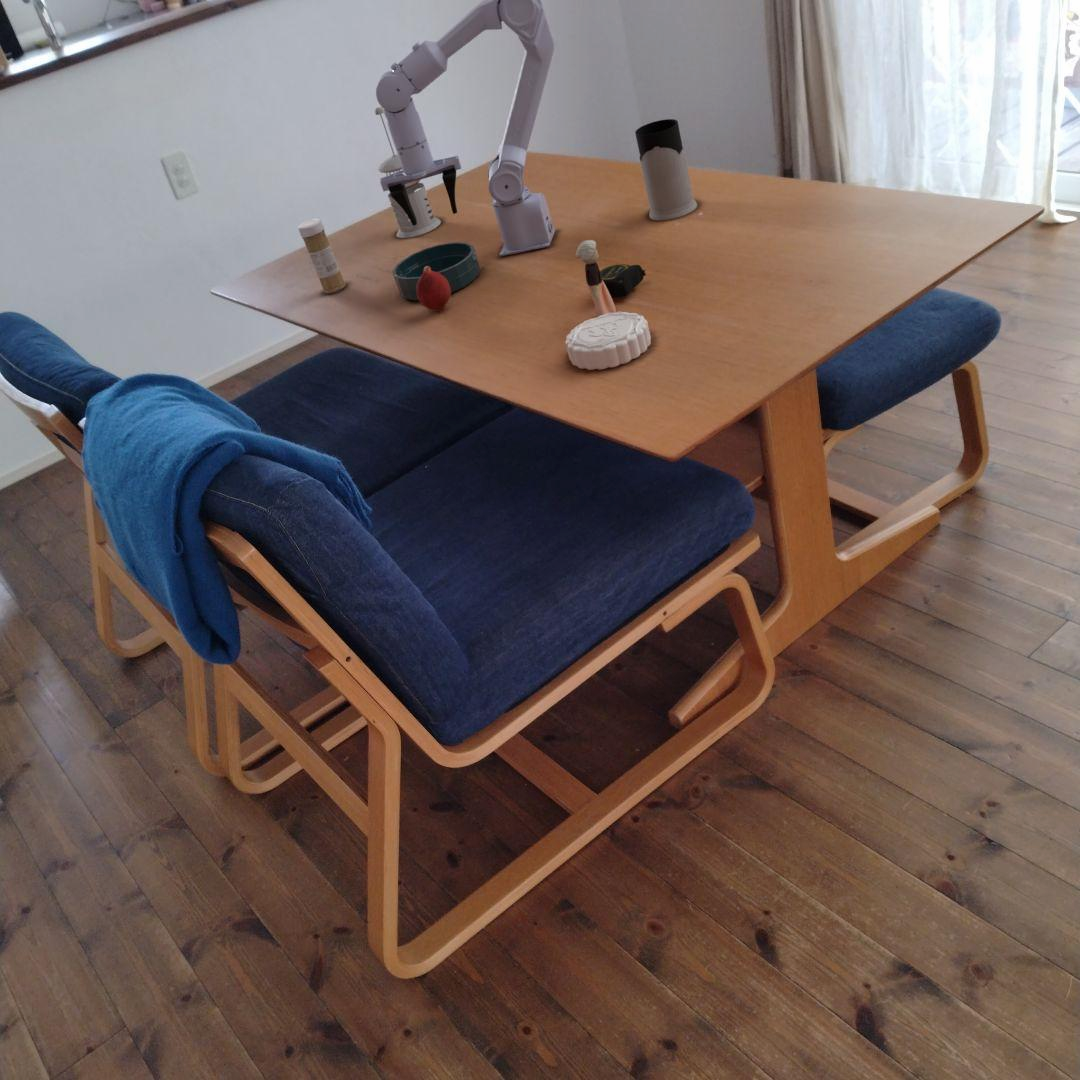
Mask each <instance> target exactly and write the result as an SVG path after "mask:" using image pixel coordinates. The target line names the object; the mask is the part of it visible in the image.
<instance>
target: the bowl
mask: <svg viewBox="0 0 1080 1080" xmlns="http://www.w3.org/2000/svg"><path fill="white" fill-rule="evenodd" d="M475 250H476V249H475V247H474V245H473V244H471V243H469V242H465V241H454V242H453V241H452V242H446V243H441V244H437V245H436V244H435V245H433V246H430V247H427V248H424V249H421V250H419V251H416V252H413V254H411V255H409V256H407V257H405V258H404V259H402V260H401V261H399V262H398V263H397V264H396V265H395V266H394V268H393V270H392V276H393V279H394V281H395V284H396V287H397V290H398V292H399V295H400V296H401V297H402V298H403V299H407V300H411V301H419V299H418V298H417V293H416V286H417V282H418V280H419V278H420V277H421V275H422V274H423V270H424V268H425V267H426V266H429V267H431V271H434V272H438V273H440V274H441V275H443V276H444V277H445V278H446V279H447V280H448V282H449V285H450V289H451V294H452V293H454V292H457V291H459V290H461V289H463V288H465V287H466V286H468V285H469V284H470V283H472V282H473V281H474V280H476V278H477V277H479V275H480V272H481V270H482V269H481V265H480V263H479V259H478V257H477V253H476V251H475Z"/></svg>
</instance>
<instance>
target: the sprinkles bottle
mask: <svg viewBox="0 0 1080 1080" xmlns="http://www.w3.org/2000/svg"><path fill="white" fill-rule="evenodd" d="M297 230H298V233H299V235H300V237H301V238H302V240H303V242H304V245H305V247H306V249H307V253H308V255H309V258H310V260H311V263H312V265H313V269H314V271H315V273H316V276H317V277H318V279H319V282H320V284H321V287H322V291H323V293H325V294H333V293H337V292H339V291H341V290H343V289H344V288H345V287H346V282H345V280H344V278H343V276H342V273H341V271H340V268H339V265H338V262H337V259H336V256H335V254H334V252H333V249H332V247H331V244H330V242H329V239H328V237H327V235H326V232H325V227H324V223H323V222H322V220H321V219H320V218H313V219H309V220H306V221H304V222H302V223H301V224H299V225H298V227H297Z"/></svg>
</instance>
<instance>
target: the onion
mask: <svg viewBox="0 0 1080 1080" xmlns="http://www.w3.org/2000/svg"><path fill="white" fill-rule="evenodd" d="M416 293H417V298H418V299H419V300H418V301H419V303H421V305H422V306H424V307H425V308H426V309H429V310H432V311H436V312H441V311H443V310H444V308H445V307H446V305H447V304H448V302H449V300H450V298H451V295H452V293H451V289H450V285H449V282H448V280H447V279H446V278H445V277H444V276H443V275H441V274H440V273H438V272H434V271H431V267H429V266H426V267H425V268H424V270H423V274H422V275H421V277H420V278H419V280H418V282H417V286H416Z"/></svg>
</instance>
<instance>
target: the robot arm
mask: <svg viewBox="0 0 1080 1080" xmlns="http://www.w3.org/2000/svg"><path fill="white" fill-rule="evenodd" d="M502 22H503V23H504V24H505V25H506V26H507V27H508V28H509V29H510V30H511V31H512V32H513V33H515V34H516V35H517V37H518V39H519V41H520V43H521V44H522V47H523V48H524V49H525V50H524V55H523V58H522V62H521V66H520V70H519V73H518V77H517V81H516V85H515V89H514V94H513V97H512V101H511V105H510V108H509V113H508V116H507V121H506V125H505V129H504V132H503V136H502V140H501V142H500V144H499V146H498V147H499V148H498V151H497V154H496V156H495V157H494V159H493V160H492V161H491V162H490V163H489V166H488V169H487V177H488V192H489V194H490V196H491V198H492V199H491V204H492V208H493V212H494V215H495V218H496V222H497V225H498V229H499V231H500V236H501V239H502V242H503V246H502V248H501V250H500V252H499V256H500V257H505V256H509V255H514V254H520V253H525V252H530V251H535V250H539V249H545V248H548V247H550V245H551V243H552V240H553V238H554V235H555V233H556V229H555V227H554V225H553V220H552V217H551V212H550V210H549V206H548V205H549V204H548V202H547V198H546V196H545V195H544V193H543V192H531V190H530V188H529V187H527V186H525V181H524V169H525V166H526V160H527V152H528V147H529V145H530V140H531V137H532V134H533V129H534V126H535V122H536V118H537V115H538V111H539V107H540V104H541V100H542V96H543V92H544V88H545V85H546V82H547V77H548V73H549V70H550V66H551V63H552V59H553V56H554V52H555V42H554V39H553V34H552V32H551V28H550V26H549V25H550V24H549V22H548V19H547V16H546V12H545V10H544V6H543V4H542V1H541V0H482V1H480V2H479V3H478V4H477V5H475V6H474V8H472V9H471V10H470V11H469V12H468V13H467V14H466V15H464V16H463V17H462V18H461V19H460V20H459V21H458V22H457V23H456V24H455V25H454V26H452V28H450V29H449V30H448V31H447V32H446V33H445V34H443V35H442V36H441V37H440V38H439V39H438V40H437V41H430V40H424V41H423V42H422V43H419V41H417V42H415V43H414V44H413V45H412V47H411V49H412V51H411V52H410V53H409V54H407V55H406V56H405V57H404V58H403V59H401V60H400V62H398V63H396V62H394V63H392V64H391V65H390V69H391V70H388V71H386V72H384V73H383V74H382V75H381V76H380V78H379V80H378V82H377V85H376V88H375V97H376V100H377V103H378V104H379V105H380V107H382V108H383V109H384V113H383V115H384V117H385V118H386V125H387V127H388V132H389V133H390V137H391V139H392V142H393V146H394V148H395V152H396V155H398V158H399V161H400V164H401V167H402V170H400V171H398V172H397V173H396V172H395V173H392V174H391V175H390V174H389V175H388V176H387V175H386V176H383V177H380V179H379V183H380V186H381V188H382V191H383V192H387V191H389V190H390V191H389V193H390V195H391V197H392V198H393V199H394V200H395V201H396V202H397V203H398V204H399V205H400V206H401V207H402V209H403V210H404V211H405V213H406V216H408V217H409V221H411V222H412V225H413V226H414V225H417V220H416V217H415V214H414V212H413V209H412V207H411V204H410V201H409V198H408V195H407V191H406V188H405V184H407V183H411V182H414V181H418V180H420V181H421V180H424V179H427V178H431V177H434V176H438V175H440V174H441V175H442V176H441V179H442V181H443V184H444V187H445V190H446V193H447V197H448V199H449V204H450V208H451V211H452V214H453V215H455V214H458V208H457V203H456V202H457V201H456V181H457V171H458V170H461V169H462V165H461V161H460V157H459V155H454V156H450V157H446V158H441V159H435V160H434V158H433V155H432V152H431V149H430V146H429V143H428V139H427V137H426V136H427V135H426V133H425V130H424V126H423V124H422V121H421V117H420V114H419V112H418V110H417V108H416V106H415V105H416V104H415V102H414V99H413V97H412V96H413V95H418V94H420V93H421V92H422V91H423V90H425V89H426V88H427V87H428V86H429V85H431V84H432V83H433V82H434V81H436V80H437V79H438V78H439V77H440V76H442V75H443V74H444V73H445V72H446V71H447V70H448V60H449V58H451V57H452V56H454V55H455V54H456V53H457V52H459V51H460V50H461V49H462V48H463V47H465V46H466V45H467V44H469V43H470V42H471V41H473V40H474V39H476V38H477V37H478V36H479V35H480V34H482V33H483V32H485V31H489V30H490V31H493V30H496V31H497V30H502V29H503V25H502Z"/></svg>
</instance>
